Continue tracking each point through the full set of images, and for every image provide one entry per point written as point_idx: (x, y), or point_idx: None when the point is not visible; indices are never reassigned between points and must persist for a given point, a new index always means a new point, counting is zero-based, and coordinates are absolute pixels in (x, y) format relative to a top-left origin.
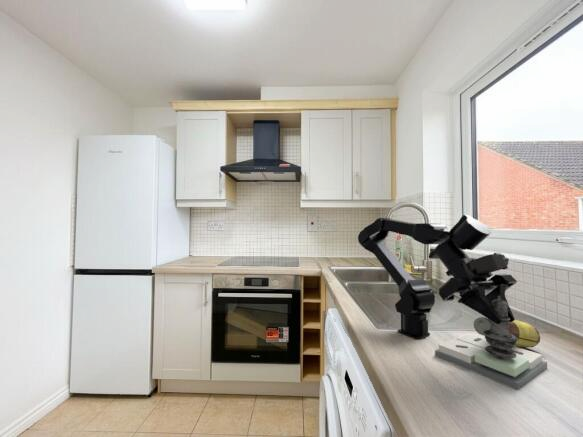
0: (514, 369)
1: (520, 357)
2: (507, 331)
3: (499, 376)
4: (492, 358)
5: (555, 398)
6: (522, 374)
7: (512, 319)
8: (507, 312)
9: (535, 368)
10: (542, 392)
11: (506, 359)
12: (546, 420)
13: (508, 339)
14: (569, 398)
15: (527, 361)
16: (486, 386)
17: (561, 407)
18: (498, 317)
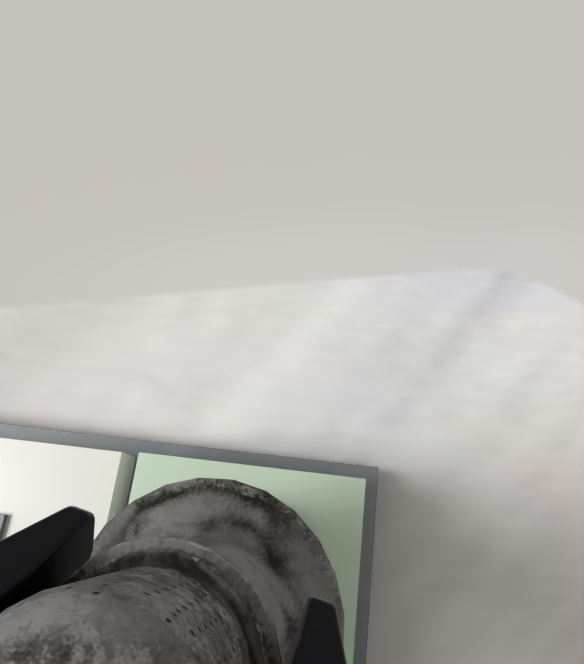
0: (364, 481)
1: (131, 497)
2: (225, 552)
3: (371, 559)
4: None
5: (311, 345)
6: None
7: (85, 528)
8: (140, 572)
9: (88, 442)
10: (297, 390)
11: None
12: (542, 341)
13: (284, 530)
14: (260, 308)
15: (158, 455)
16: (478, 594)
17: (376, 319)
18: (327, 648)
